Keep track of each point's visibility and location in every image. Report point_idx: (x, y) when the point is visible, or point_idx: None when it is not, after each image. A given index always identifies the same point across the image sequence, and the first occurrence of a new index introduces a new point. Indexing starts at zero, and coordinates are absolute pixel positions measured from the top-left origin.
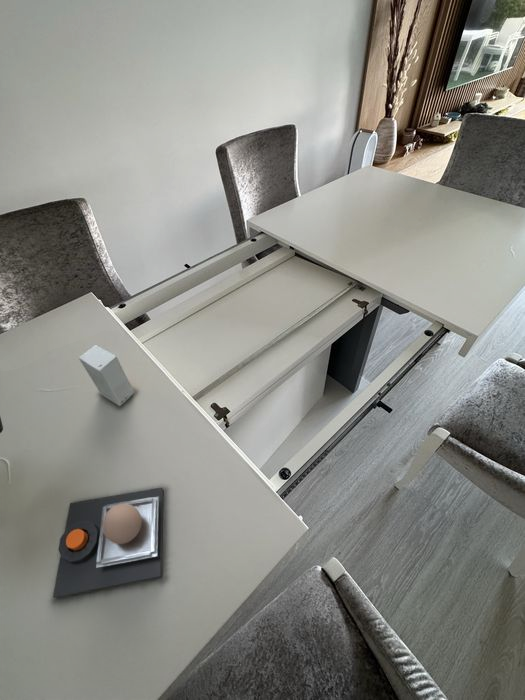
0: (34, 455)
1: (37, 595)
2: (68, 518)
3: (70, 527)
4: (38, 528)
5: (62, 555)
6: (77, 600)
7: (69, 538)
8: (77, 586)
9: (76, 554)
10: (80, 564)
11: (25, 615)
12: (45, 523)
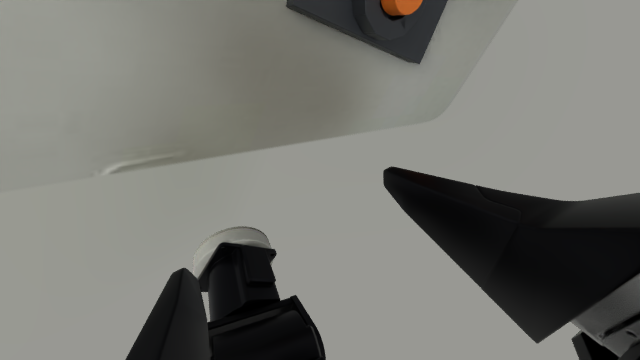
0: (95, 104)
1: (390, 90)
2: (325, 16)
3: (368, 4)
4: (302, 90)
5: (402, 33)
6: None
7: (404, 4)
8: (432, 20)
9: None
10: None
11: (399, 105)
12: (299, 76)
